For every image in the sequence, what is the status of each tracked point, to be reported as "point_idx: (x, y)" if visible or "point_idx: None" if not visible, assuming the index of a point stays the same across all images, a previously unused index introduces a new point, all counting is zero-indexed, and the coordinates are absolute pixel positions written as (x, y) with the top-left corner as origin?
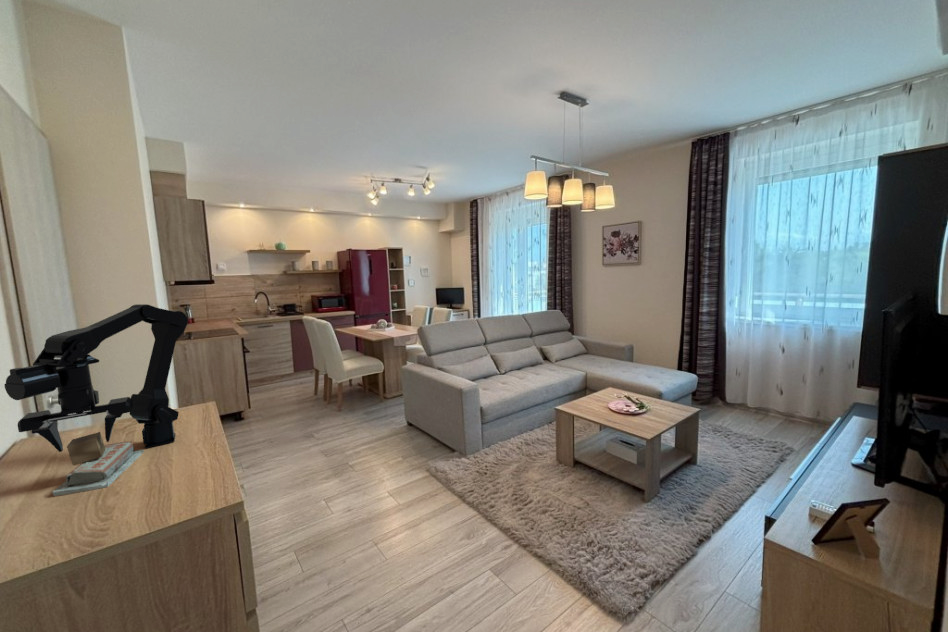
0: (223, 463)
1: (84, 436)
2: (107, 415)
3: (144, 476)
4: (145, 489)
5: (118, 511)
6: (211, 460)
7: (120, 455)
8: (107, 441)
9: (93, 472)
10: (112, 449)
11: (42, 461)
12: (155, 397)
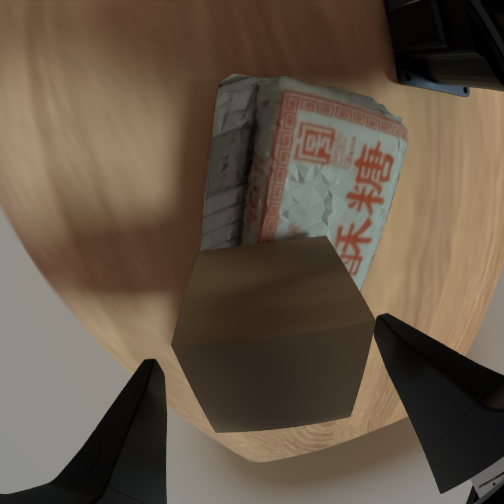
0: (482, 315)
1: (263, 349)
2: (474, 475)
3: None
4: (382, 374)
5: None
6: (481, 296)
7: (370, 265)
8: (377, 336)
9: None
10: (345, 208)
11: (10, 30)
12: None
